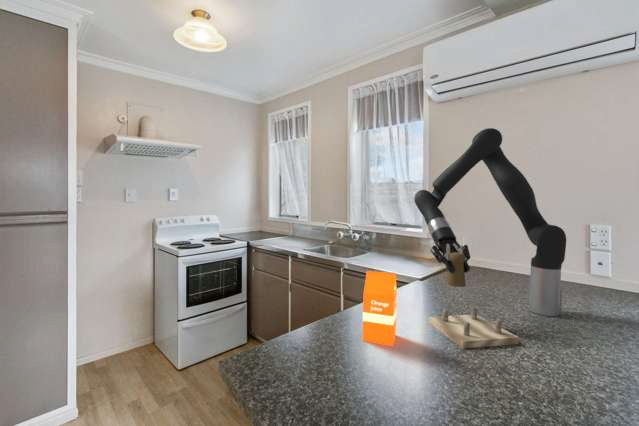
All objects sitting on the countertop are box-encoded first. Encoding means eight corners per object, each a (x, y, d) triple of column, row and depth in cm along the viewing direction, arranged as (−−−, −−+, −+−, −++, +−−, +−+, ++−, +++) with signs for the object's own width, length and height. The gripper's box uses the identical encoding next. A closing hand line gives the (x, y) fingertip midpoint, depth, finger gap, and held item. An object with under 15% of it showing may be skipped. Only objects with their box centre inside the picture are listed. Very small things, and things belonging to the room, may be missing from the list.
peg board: (476, 319, 107) (476, 304, 107) (518, 343, 89) (519, 325, 89) (429, 322, 104) (429, 306, 103) (463, 348, 86) (463, 329, 86)
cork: (468, 287, 102) (469, 254, 101) (448, 286, 103) (449, 253, 102) (463, 282, 108) (464, 251, 107) (445, 281, 109) (446, 250, 108)
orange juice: (392, 346, 87) (394, 276, 86) (362, 340, 90) (363, 273, 89) (395, 334, 94) (397, 270, 93) (367, 330, 97) (368, 268, 96)
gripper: (427, 226, 110) (445, 266, 99) (463, 225, 113) (485, 265, 101) (419, 238, 116) (436, 278, 105) (454, 238, 118) (473, 276, 107)
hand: (460, 271), depth 103 cm, fingers closed on cork, 5 cm apart
